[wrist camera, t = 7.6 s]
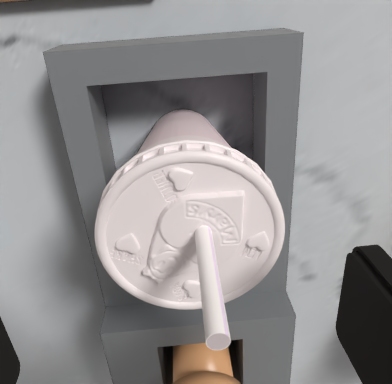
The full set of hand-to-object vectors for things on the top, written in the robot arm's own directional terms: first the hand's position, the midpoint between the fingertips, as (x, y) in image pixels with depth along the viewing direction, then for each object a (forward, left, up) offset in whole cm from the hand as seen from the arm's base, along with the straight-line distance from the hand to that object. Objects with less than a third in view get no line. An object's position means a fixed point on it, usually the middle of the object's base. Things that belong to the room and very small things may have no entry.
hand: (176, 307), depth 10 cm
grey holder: (-1, +6, -12) cm, 14 cm away
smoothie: (-1, 0, -13) cm, 13 cm away
